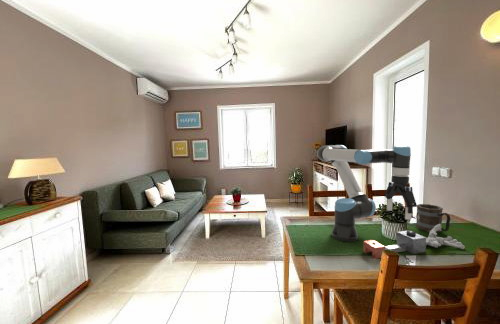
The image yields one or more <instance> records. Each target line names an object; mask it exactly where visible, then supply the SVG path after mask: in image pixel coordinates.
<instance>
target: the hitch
mask: <svg viewBox="0 0 500 324" xmlns="http://www.w3.org/2000/svg"><path fill="white" fill-rule="evenodd" d="M426 238H427V237H426V236H423V235H420V234H418V233H417V231H414V230H402V231H397V232H396V244H392V245H386V246H385V245H384V246H385V250H390V251H395V252H396V253H401V252H408V253H411V254H413V255H415V254H421V253H422V254H423V253H426V249H427V245H426Z"/></svg>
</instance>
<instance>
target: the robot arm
mask: <svg viewBox="0 0 500 324" xmlns="http://www.w3.org/2000/svg"><path fill="white" fill-rule="evenodd" d="M316 155H317V158H318V159H319V160H321V161H322V162H330V163H331V165H332V167H335V169H336V171H337V173H338V176H339V178H340V180H341V182H342V184H343V187H344V189H345V191H346V193H347V196H348V197H344V198H338V199H337V200H336V201H335V202H334V225H333V227H332V230H331V236H332V237H333V238H334V239H335V240H338V241H341V242H355V241H357V240H358V239H359V234H358V231H357V228H356V220H358V219H363V218H367V219H368V218H369V217H372V216H374V214H375V213H376V210H377V208H376V204H375V201H374V200H373V199H371V198H369V197H368V196H367V194H366V193H364V192H363V191H362V190H361V187H360V185H359V183H358V181H357V179H356V177H355V175H354V172H353V171H352V169H351V167H350V164H349V163H356V164H358V165H367V164H381V163H384V164H385V163H386V164H392V165H391V166H392V167H391V168H392V169H391V174H392V175H391V181H389V182H388V186H387V188H386V190H385V192H384V194H383V196H384V197H385V198H386V211H389V212H390V211H393V202H394V199H393V197H394V196H395V195H396V194H397V193H398V194H400V195H401V196H402V199H403V200H404V202H405V205H406V206H405V212H404V214H405V215H404V219H405V220H412V215H413V208H415V207H416V208H417V205H418V204H417V202H416V199H415V196H414V192H413V187H412V186H408V184H409V182H410V177H409V176H410V167H411V166H410V165H411V147H410V146H407V145H405V146H404V145H395V146H393V149H389V148H388V149H386V148H376V149H351V148H349V149H348V148H347V147H346V146H345V145H343V144H335V145H333V144H328V145H327V144H326V145H322V146H320V147H319V148H318V149H317V151H316Z"/></svg>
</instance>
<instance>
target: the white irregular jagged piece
mask: <svg viewBox="0 0 500 324" xmlns="http://www.w3.org/2000/svg"><path fill="white" fill-rule="evenodd" d="M441 228H442V223H441V224H438V225H436V226H435V227H434V228H433V229H432V230H431V231H430V232H428V233H429V234H428V236H427V237H426V246H427V245H428V246H430V247H434V248H436V249H437V248H439V247H441V246H449V247H454V248H457V249H460V250H464V249H465V247H466V246H465V245H463V243H462V242H461V241H458V240H457V239H456V238H453V237H452V236H451V235H447V236H446V237H440V236H438V233H437V232H436V231H438V230H439V229H440V230H441Z"/></svg>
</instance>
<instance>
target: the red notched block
mask: <svg viewBox="0 0 500 324" xmlns="http://www.w3.org/2000/svg"><path fill="white" fill-rule="evenodd" d="M383 250H385V245H383V244H381V243H379V242H378V241H376V240H375V239H368V240H363V251H362V252H363V253H364V254H369V253H371V258H372V259H373V260H379V259H382V258H381V254H382V251H383Z"/></svg>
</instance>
